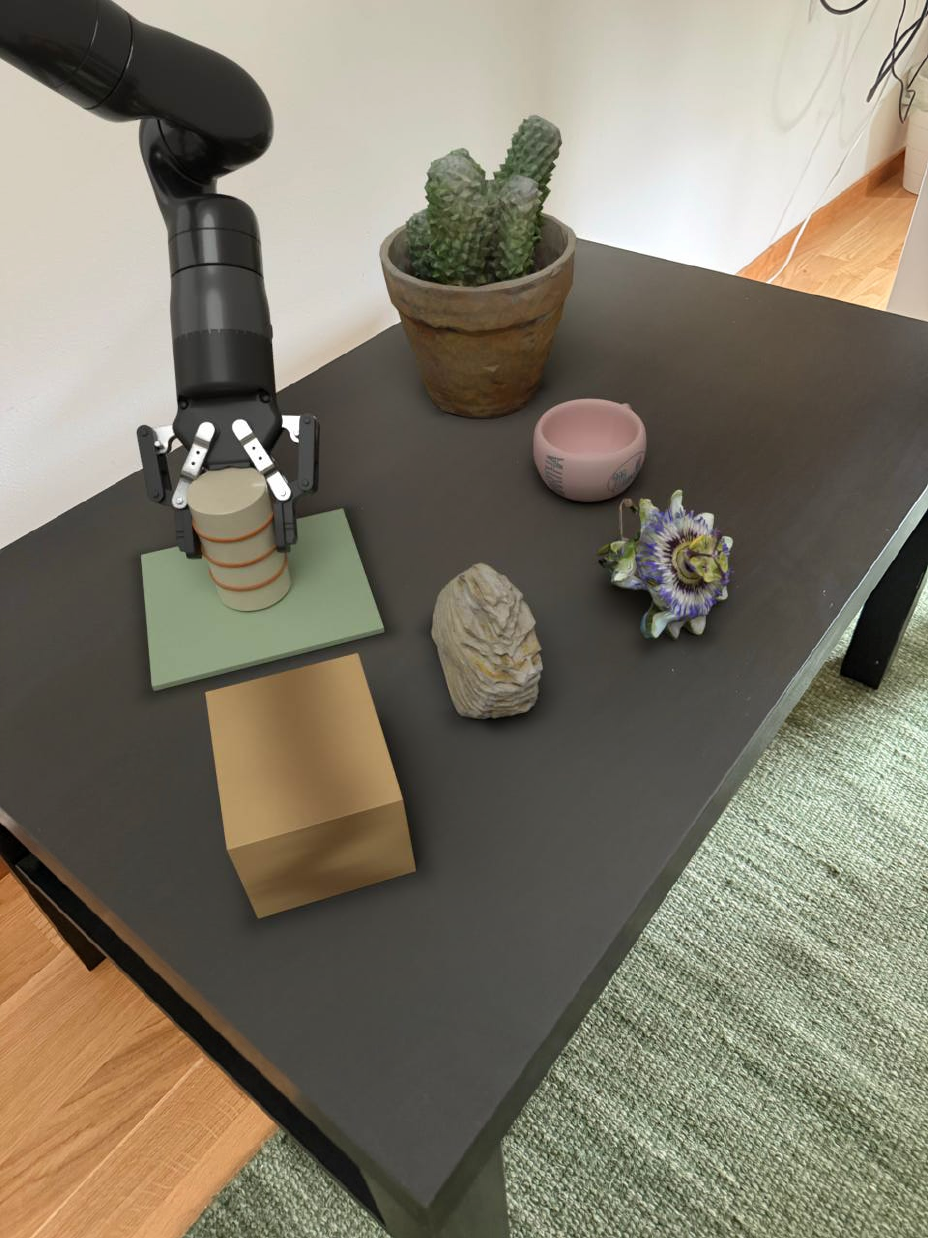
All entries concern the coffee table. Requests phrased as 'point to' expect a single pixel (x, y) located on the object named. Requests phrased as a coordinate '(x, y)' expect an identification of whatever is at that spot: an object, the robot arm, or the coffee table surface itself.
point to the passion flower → (671, 565)
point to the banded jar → (239, 537)
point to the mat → (232, 639)
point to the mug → (589, 448)
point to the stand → (307, 786)
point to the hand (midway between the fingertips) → (239, 554)
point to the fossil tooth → (487, 644)
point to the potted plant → (483, 276)
